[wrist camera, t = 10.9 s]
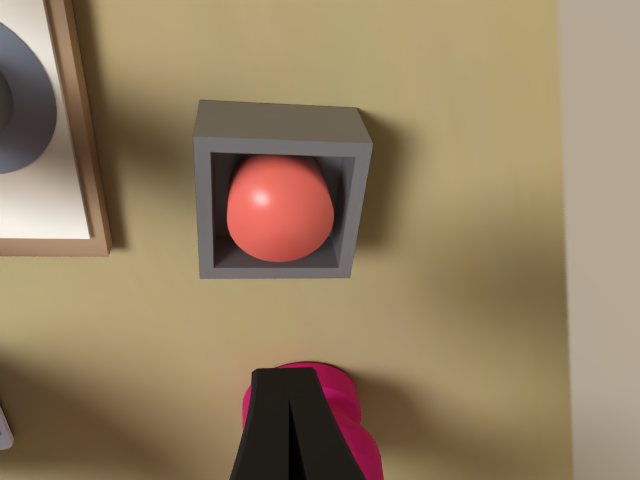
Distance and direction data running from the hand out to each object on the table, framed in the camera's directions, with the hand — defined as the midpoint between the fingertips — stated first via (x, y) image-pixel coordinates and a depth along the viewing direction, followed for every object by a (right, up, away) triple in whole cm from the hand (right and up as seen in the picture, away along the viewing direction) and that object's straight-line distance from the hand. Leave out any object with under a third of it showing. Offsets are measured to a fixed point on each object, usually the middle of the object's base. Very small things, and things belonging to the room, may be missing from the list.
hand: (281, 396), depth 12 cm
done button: (-1, +5, +7) cm, 9 cm away
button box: (-1, +6, +8) cm, 10 cm away
